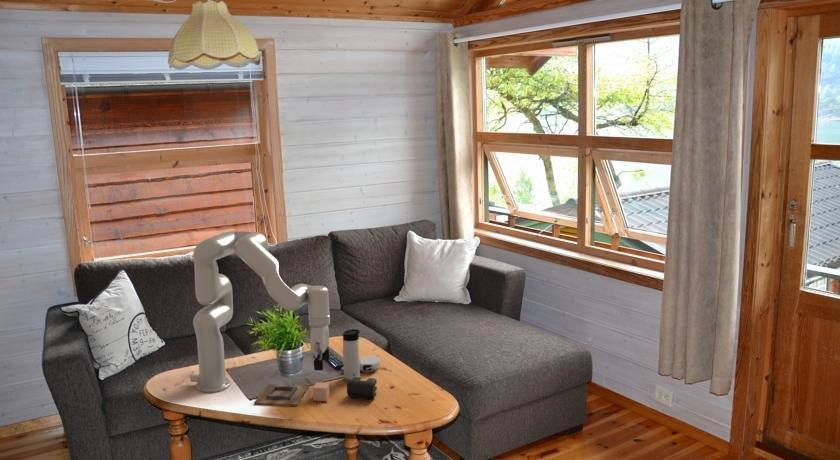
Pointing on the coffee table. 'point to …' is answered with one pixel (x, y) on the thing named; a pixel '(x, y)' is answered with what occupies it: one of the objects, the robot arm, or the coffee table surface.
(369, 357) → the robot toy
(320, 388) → the terracotta cube
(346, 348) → the travel mug
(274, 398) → the holder board
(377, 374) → the coffee table surface
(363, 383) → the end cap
